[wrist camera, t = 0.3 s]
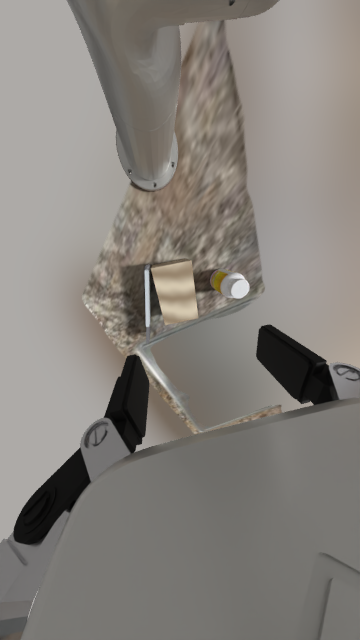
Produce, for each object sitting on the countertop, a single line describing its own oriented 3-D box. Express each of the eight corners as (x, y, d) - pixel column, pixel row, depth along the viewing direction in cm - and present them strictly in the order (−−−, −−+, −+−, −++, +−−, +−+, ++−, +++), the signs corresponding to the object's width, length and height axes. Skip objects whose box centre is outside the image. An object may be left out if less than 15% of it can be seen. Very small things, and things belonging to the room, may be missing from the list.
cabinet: (152, 265, 40) (150, 268, 33) (185, 258, 40) (191, 260, 33) (164, 313, 47) (165, 325, 40) (192, 307, 48) (198, 318, 41)
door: (146, 263, 38) (144, 265, 33) (150, 263, 39) (149, 265, 33) (147, 332, 49) (145, 343, 43) (150, 332, 49) (149, 343, 43)
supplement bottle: (209, 290, 46) (226, 304, 34) (209, 270, 43) (227, 277, 31) (229, 287, 46) (251, 299, 35) (229, 266, 43) (254, 272, 32)
